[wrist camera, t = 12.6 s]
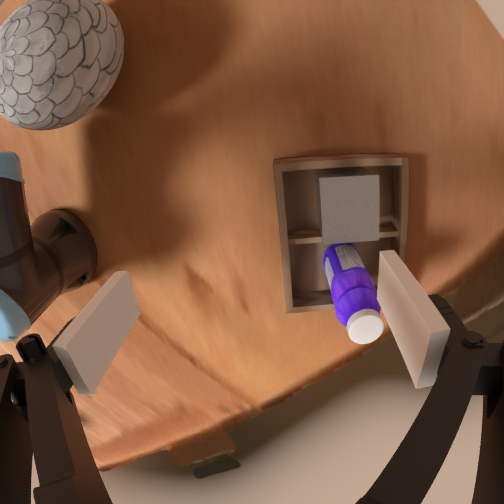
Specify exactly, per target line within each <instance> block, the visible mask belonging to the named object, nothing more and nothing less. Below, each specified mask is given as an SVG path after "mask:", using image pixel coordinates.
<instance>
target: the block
mask: <svg viewBox="0 0 504 504" xmlns="http://www.w3.org/2000/svg"><path fill="white" fill-rule="evenodd" d="M314 176H315V191H316V206H317V224H318V227H319V230H320V232H321V235H322V244H323V245H326V244H338V243H351V242H363V241H376V240H379V217H380V191H379V175H378V174H373V173H371V172H370V171H368V170H366V169H365V168H363V167H352V168H334V169H318V170H314Z"/></svg>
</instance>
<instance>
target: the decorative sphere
mask: <svg viewBox="0 0 504 504" xmlns="http://www.w3.org/2000/svg"><path fill="white" fill-rule="evenodd" d="M123 57H124V36H123V31H122V28H121V25H120V22H119V20H118V18H117V16H116V15H115V13H114V12H113V11H112V9H111V8H110V7H109V6H108V5H107V4H106V3H105V2H103V1H102V0H29V1H28V2H26V3H25V4H23V5H21V6H20V7H19V8H18V9H16V10H15V11H14V12H13V13H12V14H11V15H10V16H9V17H8V18H7V19H6V20H5V21H4V22H3V24H2V25H1V26H0V114H1V115H2V116H3V117H4V118H5V119H6V120H8V121H9V122H11V123H12V124H15V125H17V126H19V127H22V128H25V129H30V130H52V129H56V128H61V127H64V126H67V125H69V124H71V123H74V122H76V121H77V120H79V119H81V118H83V117H84V116H86V115H87V114H88V113H90V112H91V111H92V110H93V109H94V108H96V107H97V106H98V105H99V104H100V103H101V102H102V101H103V99H104V98H105V97H106V96H107V94H108V93H109V92H110V90H111V89H112V87H113V85H114V83H115V82H116V80H117V77H118V75H119V72H120V70H121V66H122V63H123Z"/></svg>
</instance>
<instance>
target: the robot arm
mask: <svg viewBox="0 0 504 504" xmlns="http://www.w3.org/2000/svg"><path fill="white" fill-rule="evenodd" d="M24 183H25V180H24V179H23V176H22V170H21V162H20V158H19V157H18V155H17V154H16V153H14V152H10V151H8V152H0V340H1V341H6V342H9V341H14V340H16V339H17V338H18V337H19V336H20V335H21V334H23V333H24V332H25V331H27V330H28V329H29V328H30V327H31V325H32V324H33V323H34V322H35V321H36V320H37V318H38V317H39V316H40V315H41V314H42V313H43V312H44V311H45V310H46V309H47V308H48V307H49V306H50V305H51V304H52V302H53V301H54V300H55V299H56V298H57V297H58V296H59V295H61V294H64V293H67V292H70V291H73V290H76V289H78V288H80V287H82V286H83V285H84V284H85V283H86V282H87V281H88V280H89V279H90V278H91V277H92V275H93V274H94V272H95V269H96V265H97V252H96V247H95V243H94V241H93V238H92V236H91V234H90V232H89V230H88V229H87V227H86V226H85V225H84V224H83V223H82V221H81V220H80V219H78V218H77V217H76V216H75V215H73V214H71V213H70V212H67V211H64V210H59V209H55V210H50V211H48V212H46V213H44V214H42V215H41V216H39V217H38V218H37V219H36V220H35V221H34V222H33V224H32V225H31V226H30V222H29V216H28V210H27V204H26V197H25V189H24ZM377 300H378V302H379V305H380V307H381V309H382V311H383V313H384V315H385V317H386V320H387V322H388V324H389V326H390V328H391V331H392V333H393V335H394V337H395V340H396V342H397V344H398V347H399V349H400V351H401V354H402V356H403V358H404V361H405V363H406V365H407V368H408V370H409V373H410V375H411V378H412V380H413V383H414V385H415V388H416V389H418V388H423V387H428V386H433V387H432V389H431V392H430V393H429V395H428V397H427V399H426V401H425V403H424V405H423V407H422V408H421V410H420V412H419V414H418V416H417V417H416V419H415V421H414V423H413V424H412V426H411V428H410V430H409V431H408V433H407V434H406V436H405V438H404V440H403V441H402V443H401V444H400V446H399V447H398V449H397V451H396V452H395V454H394V455H393V457H392V458H391V460H390V461H389V463H388V464H387V465H386V467H385V468H384V470H383V471H382V473H381V474H380V476H379V477H378V478H377V480H376V481H375V482H374V484H373V485H372V487H371V488H370V489H369V491H368V492H367V493H366V494H365V495H364V496H363V497H362V498H360V499H359V500H358V501H357V503H356V504H421V502H422V501H423V499H424V497H425V495H426V494H427V492H428V490H429V488H430V487H431V485H432V483H433V481H434V479H435V478H436V476H437V474H438V472H439V470H440V468H441V466H442V464H443V462H444V460H445V458H446V456H447V454H448V452H449V449H450V447H451V445H452V443H453V441H454V439H455V436H456V434H457V432H458V429H459V427H460V425H461V422H462V420H463V417H464V415H465V412H466V410H467V406H468V404H469V401H470V399H471V396H472V395H483V418H482V433H481V445H480V455H479V462H478V470H477V476H476V483H475V488H474V494H473V499H472V504H504V341H503V343H487V342H486V340H485V338H484V337H483V336H482V335H480V334H479V333H476V332H473V331H468V330H467V329H466V327H465V326H464V324H463V323H462V322H461V320H460V319H459V317H458V316H457V315H456V314H455V312H454V311H453V309H452V308H451V306H450V305H449V304H448V302H447V301H446V300H445V299H444V298H442V297H441V296H439V295H437V294H433V295H427V294H426V292H425V291H424V290H423V288H422V287H421V285H420V284H419V283H418V281H417V280H416V279H415V277H414V276H413V275H412V273H411V272H410V271H409V269H408V268H407V266H406V265H405V264H404V263H403V261H402V260H401V259H400V257H399V256H398V255H397V253H396V252H395V251H394V250H387V251H380V256H379V274H378V289H377ZM140 314H141V312H140V309H139V306H138V303H137V300H136V297H135V294H134V291H133V287H132V284H131V281H130V278H129V274H128V271H116V272H115V273H114V274H113V275H112V276H111V277H110V278H109V279H108V280H107V282H106V283H105V284H104V285H103V286H102V287H101V288H100V289H99V290H98V292H97V293H96V294H95V295H94V296H93V297H92V298H91V300H90V301H89V302H88V303H87V304H86V305H85V307H84V308H83V309H82V310H81V311H80V312H79V314H78V315H77V316H76V317H74V318H73V319H71V320H70V321H69V322H68V323H67V324H66V325H65V326H64V327H63V330H61V331H60V332H59V335H57V336H56V337H55V338H54V339H53V341H52V342H51V343H50V344H49V346H48V347H47V348H46V347H45V345H44V343H43V341H42V339H41V337H40V335H39V334H29V335H27V336H25V337H23V338H22V339H21V340H19V342H18V343H17V345H16V349H17V350H18V352H19V354H20V356H21V358H22V359H23V361H24V362H17V363H16V362H15V360H14V358H13V356H12V355H10V354H5V355H1V356H0V504H31V473H32V471H31V470H32V456H33V453H34V459H35V464H36V469H37V474H38V479H39V483H40V486H39V487H36V488H34V490H33V494H34V499H35V503H36V504H113V503H112V501H111V499H110V497H109V495H108V492H107V490H106V488H105V485H104V483H103V481H102V478H101V476H100V474H99V471H98V469H97V466H96V464H95V461H94V458H93V456H92V453H91V450H90V448H89V445H88V442H87V439H86V436H85V433H84V430H83V427H82V424H81V421H80V418H79V414H78V411H77V408H76V404H75V401H74V397H73V395H72V393H71V391H70V388H71V387H72V385H74V386H75V388H76V390H77V391H78V393H79V394H84V395H90V396H92V395H93V393H94V392H95V390H96V388H97V386H98V384H99V383H100V381H101V379H102V377H103V376H104V374H105V372H106V370H107V369H108V367H109V365H110V364H111V362H112V360H113V358H114V357H115V355H116V353H117V352H118V350H119V348H120V347H121V345H122V343H123V342H124V340H125V338H126V337H127V335H128V333H129V332H130V330H131V328H132V327H133V325H134V323H135V322H136V320H137V319H138V317H139V315H140ZM437 375H438V377H437ZM436 377H437V379H436ZM435 380H436V381H435ZM434 382H435V383H434ZM11 399H12V400H13V403H12V400H11Z"/></svg>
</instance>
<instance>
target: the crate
mask: <svg viewBox="0 0 504 504" xmlns="http://www.w3.org/2000/svg"><path fill="white" fill-rule="evenodd" d="M352 167H363V168H365V169H366V170H368V171H370V172H371V173H373V174H378V175H379V191H380V217H379V240H376V241H363V242H351V243H350V244H352V245H353V246H354V247H355V248H356V249H357V251H358V253H359V256H360V258H361V260H362V262H363V264H364V266H365V268H366V270H367V272H368V273H369V275H370V276H371V278H372V281H373V284H374V287H375V291H376V293H377V289H378V274H379V256H380V251H387V250H394V251H395V252H396V253H397V255H398V256H399V257H400V259H401V260H402V261H403V263H404V264H405V257H406V244H407V227H408V199H409V160H408V157H405V156H403V155H400V154H397V153H372V154H345V155H326V156H311V157H297V158H285V159H274V160H273V170H274V179H275V189H276V199H277V209H278V219H279V230H280V240H281V251H282V263H283V274H284V286H285V299H286V312H287V313H299V312H311V311H323V310H334V309H335V306H334V303H333V300H332V295H331V290H330V286H329V283H328V279H327V277H326V274H325V271H324V266H323V255H324V252H325V250H326V249H327V248H328V247H330V246H331V245H335V244H326V245H323V244H322V235H321V232H320V230H319V227H318V224H317V206H316V191H315V176H314V170H318V169H334V168H352Z"/></svg>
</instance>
